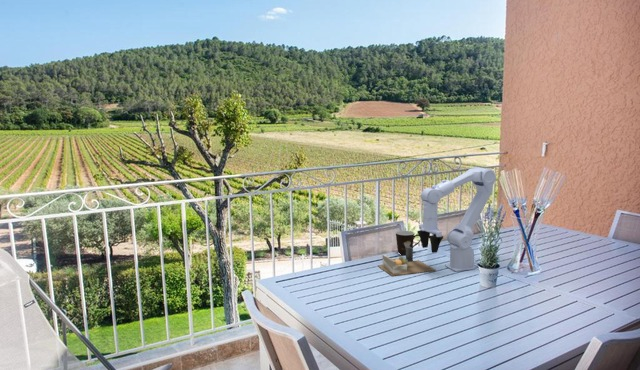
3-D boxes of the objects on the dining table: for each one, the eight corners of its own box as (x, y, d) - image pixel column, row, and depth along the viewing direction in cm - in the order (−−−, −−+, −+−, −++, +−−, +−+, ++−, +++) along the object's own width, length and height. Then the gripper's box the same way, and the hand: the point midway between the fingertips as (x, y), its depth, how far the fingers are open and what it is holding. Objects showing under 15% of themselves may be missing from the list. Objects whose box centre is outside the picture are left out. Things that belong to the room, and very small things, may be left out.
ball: (393, 256, 203) (389, 265, 203) (397, 259, 200) (393, 268, 200) (401, 259, 205) (397, 268, 205) (405, 262, 201) (401, 271, 201)
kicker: (408, 262, 207) (409, 245, 206) (415, 267, 202) (416, 249, 201) (398, 264, 206) (398, 246, 205) (405, 268, 200) (405, 250, 199)
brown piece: (418, 261, 213) (419, 249, 213) (435, 270, 200) (435, 258, 199) (377, 266, 207) (377, 254, 207) (392, 276, 194) (392, 263, 193)
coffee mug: (394, 255, 223) (394, 234, 221) (396, 250, 231) (397, 230, 229) (419, 257, 219) (420, 236, 218) (421, 252, 227) (421, 231, 226)
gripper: (412, 214, 202) (412, 246, 204) (430, 222, 188) (430, 255, 190) (427, 213, 204) (427, 244, 206) (446, 220, 190) (445, 253, 192)
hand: (429, 249), depth 198 cm, fingers open, 7 cm apart
